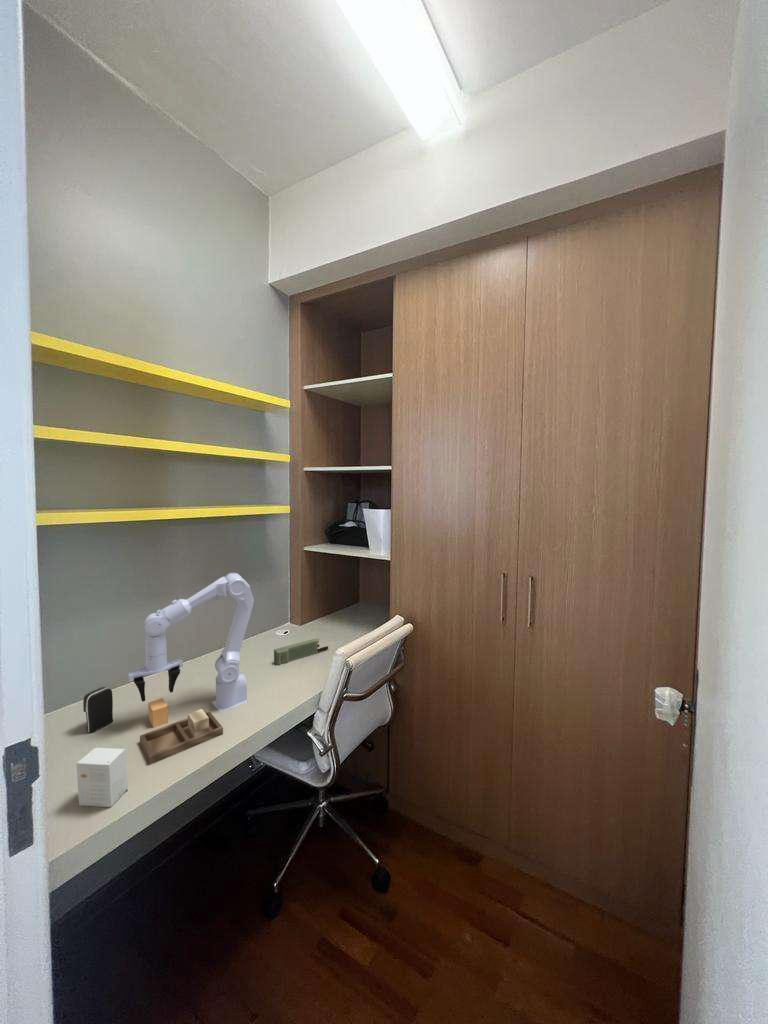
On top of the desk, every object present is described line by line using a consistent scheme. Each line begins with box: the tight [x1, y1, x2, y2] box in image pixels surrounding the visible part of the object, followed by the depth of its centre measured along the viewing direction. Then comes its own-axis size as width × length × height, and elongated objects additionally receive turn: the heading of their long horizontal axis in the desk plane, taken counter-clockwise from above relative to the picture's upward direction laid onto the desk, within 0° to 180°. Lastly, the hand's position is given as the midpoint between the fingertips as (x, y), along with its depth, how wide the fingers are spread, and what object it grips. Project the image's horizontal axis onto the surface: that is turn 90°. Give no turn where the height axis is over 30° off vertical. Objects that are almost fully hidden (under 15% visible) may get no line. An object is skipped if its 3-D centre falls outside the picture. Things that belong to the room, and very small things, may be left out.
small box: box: [76, 747, 129, 808], centre depth 93 cm, size 8×6×10 cm
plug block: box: [147, 697, 169, 728], centre depth 122 cm, size 4×6×6 cm, turn 43°
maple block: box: [187, 708, 209, 738], centre depth 117 cm, size 4×6×5 cm, turn 43°
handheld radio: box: [273, 637, 329, 666], centre depth 169 cm, size 7×3×25 cm
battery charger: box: [82, 686, 114, 734], centre depth 120 cm, size 7×4×11 cm, turn 155°
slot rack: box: [139, 710, 224, 766], centre depth 114 cm, size 19×12×3 cm, turn 133°
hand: (157, 695), depth 122 cm, fingers open, 7 cm apart
